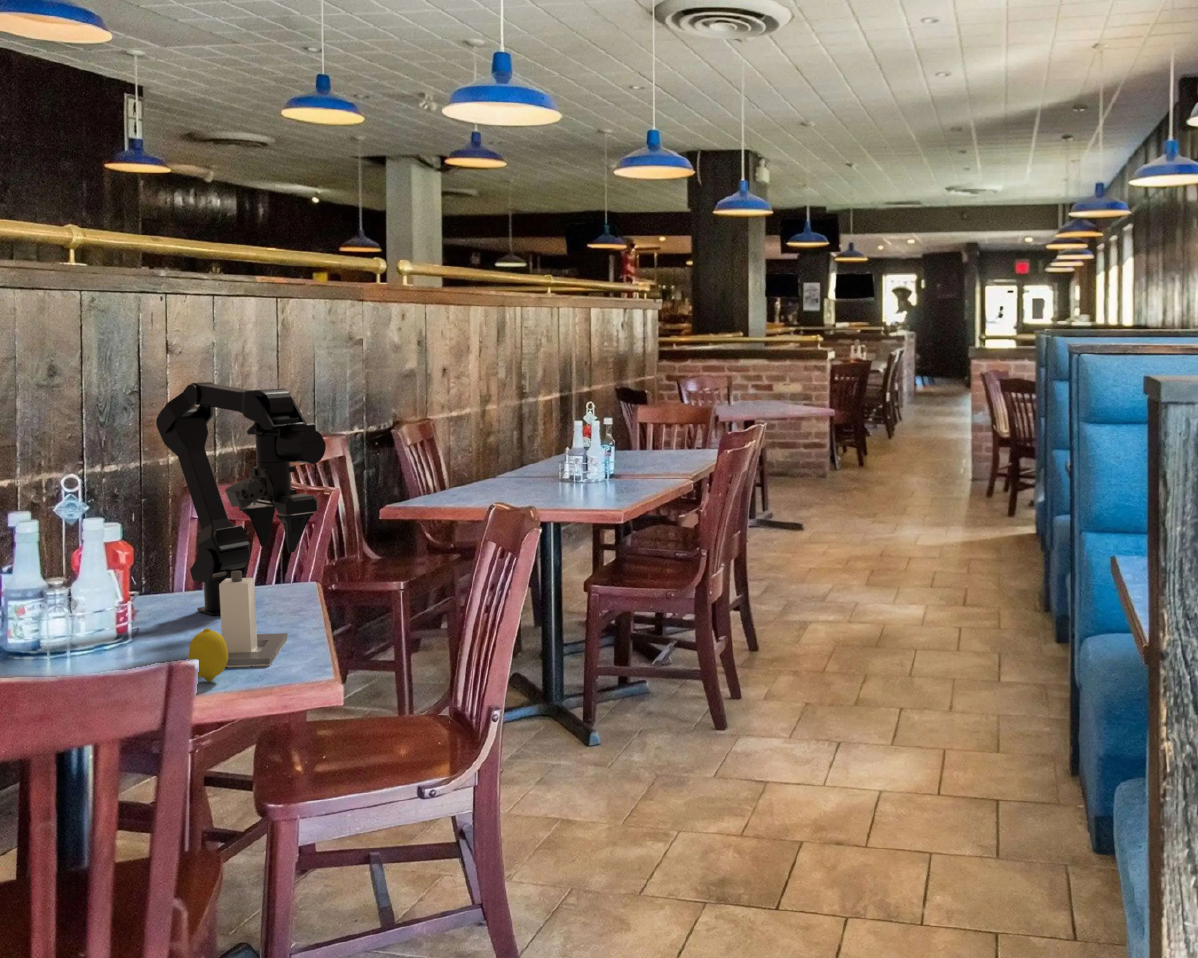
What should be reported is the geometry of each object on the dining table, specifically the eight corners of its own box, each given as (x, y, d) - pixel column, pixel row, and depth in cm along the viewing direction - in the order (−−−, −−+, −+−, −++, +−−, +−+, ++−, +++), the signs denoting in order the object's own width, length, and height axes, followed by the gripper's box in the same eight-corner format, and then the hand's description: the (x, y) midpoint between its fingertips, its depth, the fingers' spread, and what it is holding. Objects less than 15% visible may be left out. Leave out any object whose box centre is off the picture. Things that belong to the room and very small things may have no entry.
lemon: (237, 677, 183) (234, 625, 182) (213, 688, 178) (211, 633, 177) (205, 675, 185) (202, 622, 184) (181, 685, 180) (178, 631, 179)
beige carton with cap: (229, 648, 199) (225, 569, 197) (257, 647, 199) (253, 568, 198) (222, 656, 194) (218, 575, 193) (251, 655, 194) (247, 574, 193)
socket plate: (213, 642, 204) (213, 635, 204) (287, 640, 205) (287, 633, 205) (189, 668, 188) (189, 661, 188) (269, 665, 189) (269, 658, 189)
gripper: (204, 461, 216) (209, 549, 218) (259, 468, 203) (263, 562, 205) (262, 456, 224) (266, 541, 226) (317, 462, 211) (321, 553, 212)
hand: (277, 549), depth 217 cm, fingers open, 9 cm apart
